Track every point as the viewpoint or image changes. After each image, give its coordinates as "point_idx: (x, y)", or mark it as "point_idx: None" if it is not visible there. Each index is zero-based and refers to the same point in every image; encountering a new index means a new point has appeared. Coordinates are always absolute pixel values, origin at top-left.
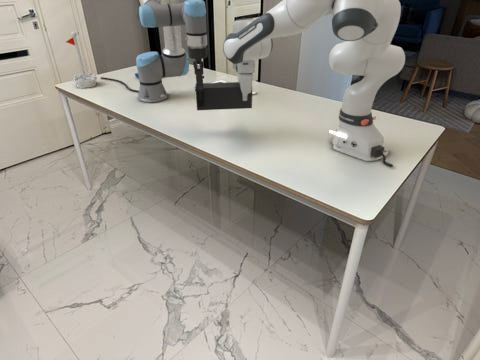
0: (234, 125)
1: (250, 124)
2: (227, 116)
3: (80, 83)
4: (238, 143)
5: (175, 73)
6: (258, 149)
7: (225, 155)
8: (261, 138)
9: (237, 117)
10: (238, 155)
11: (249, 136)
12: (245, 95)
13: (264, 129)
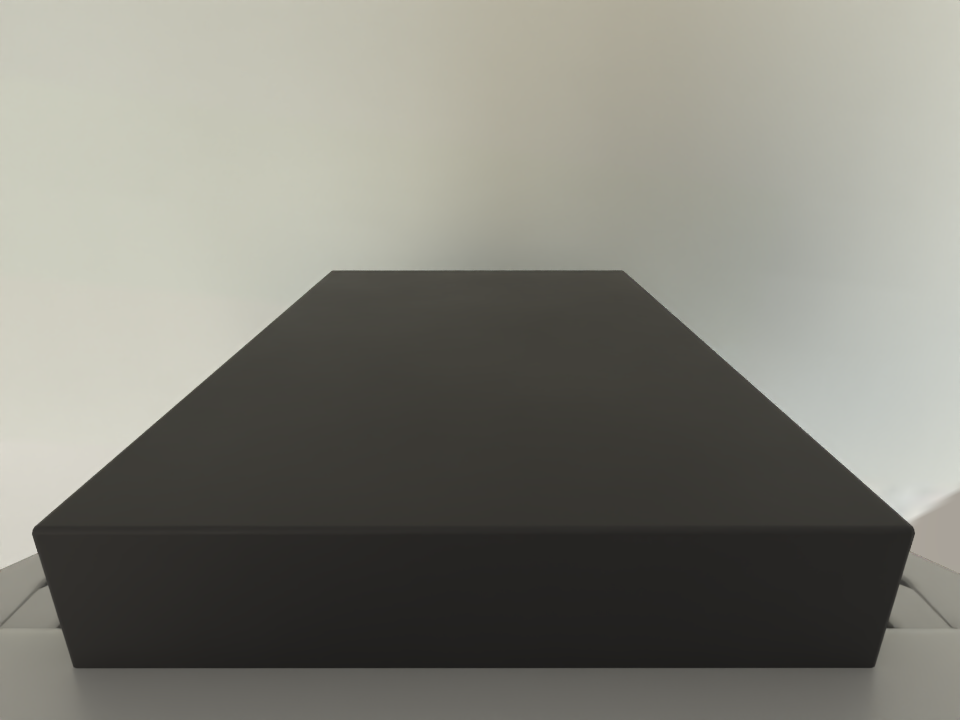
0: None
1: (293, 187)
2: (85, 411)
3: None
4: (729, 359)
5: None
6: (908, 184)
7: (913, 477)
8: (673, 110)
9: (101, 312)
10: (952, 379)
11: (600, 237)
12: None
13: (441, 30)
